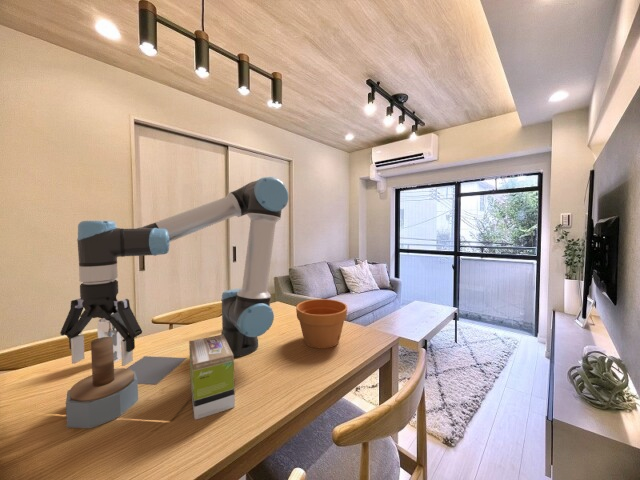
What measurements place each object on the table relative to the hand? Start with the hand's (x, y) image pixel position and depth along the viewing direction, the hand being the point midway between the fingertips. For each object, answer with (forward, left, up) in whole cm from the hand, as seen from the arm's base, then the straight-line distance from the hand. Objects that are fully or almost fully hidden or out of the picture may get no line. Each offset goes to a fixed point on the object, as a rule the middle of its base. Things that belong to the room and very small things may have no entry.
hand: (102, 362), depth 69 cm
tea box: (-26, -6, -12) cm, 29 cm away
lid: (0, 0, -6) cm, 6 cm away
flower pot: (-54, -45, -12) cm, 71 cm away
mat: (+1, -18, -12) cm, 22 cm away
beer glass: (+19, -23, -12) cm, 32 cm away
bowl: (0, 0, -12) cm, 12 cm away
